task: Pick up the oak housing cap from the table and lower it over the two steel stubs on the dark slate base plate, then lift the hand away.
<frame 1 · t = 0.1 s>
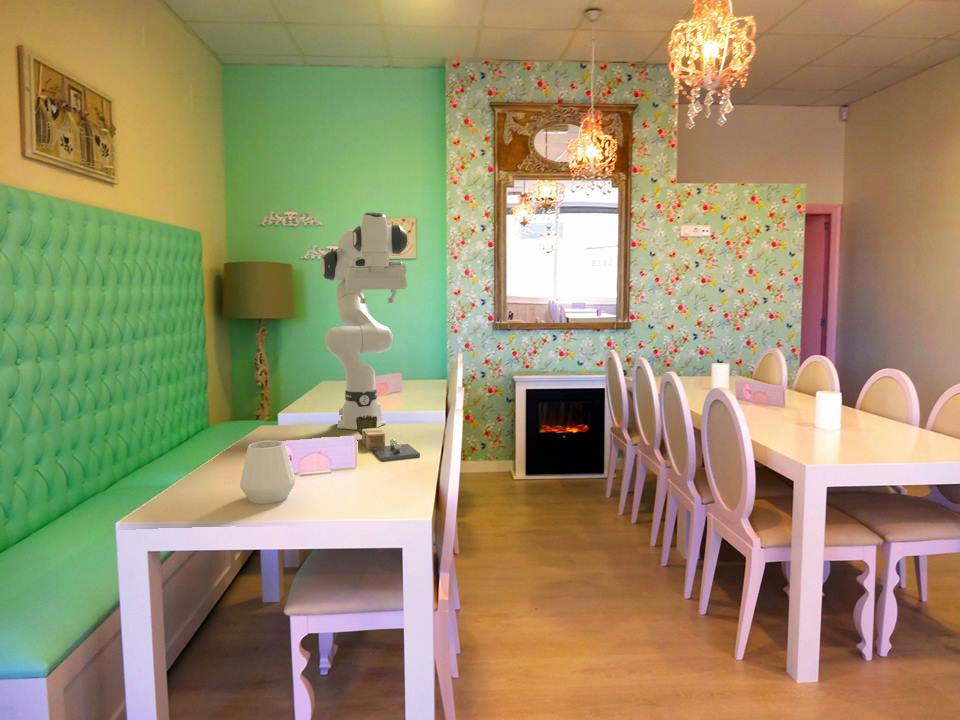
hand: (376, 303, 218), 48 cm above the table, tool pointing down, fingers open, 8 cm apart
cup 2: (367, 440, 229), on the table
slate base plate: (395, 453, 208), on the table
oak housing cap: (373, 445, 220), on the table
cream vase: (268, 498, 166), on the table
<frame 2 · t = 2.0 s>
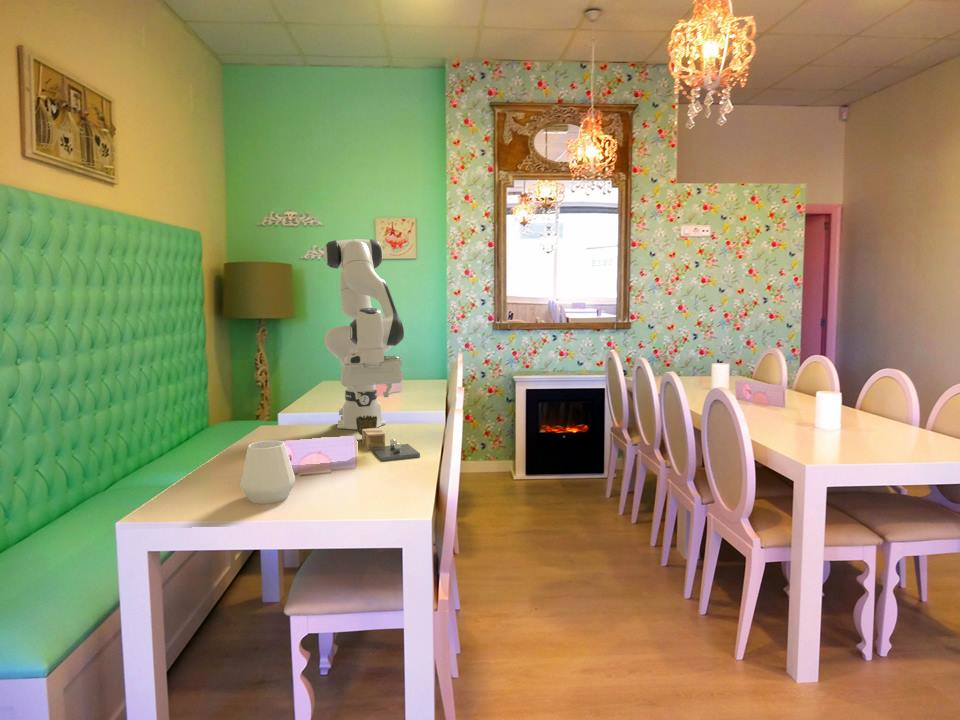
hand: (372, 398, 218), 16 cm above the table, tool pointing down, fingers open, 8 cm apart
nothing on the table moved.
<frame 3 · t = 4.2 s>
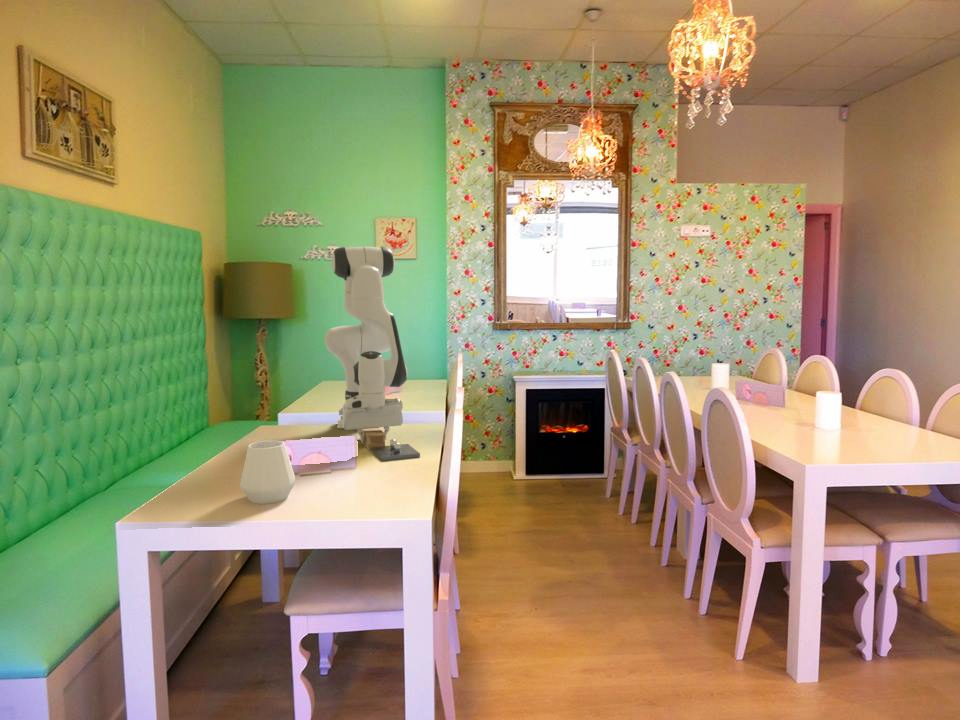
hand: (373, 440, 220), 2 cm above the table, tool pointing down, fingers closed on oak housing cap, 5 cm apart
oak housing cap: (373, 445, 220), on the table, touching gripper
everything else where it was.
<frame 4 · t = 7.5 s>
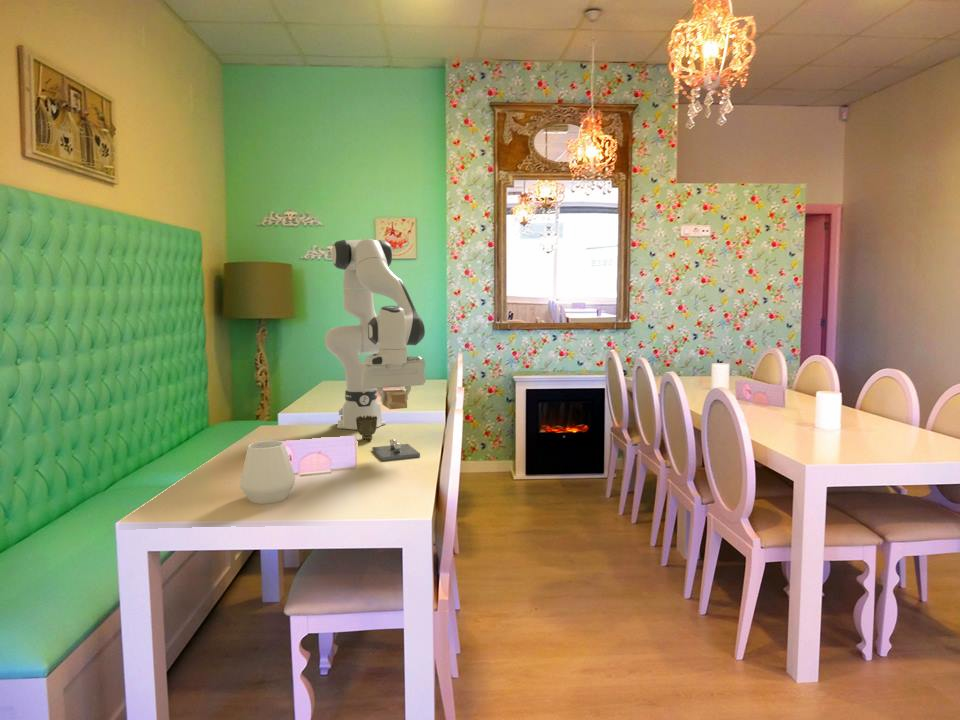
hand: (394, 400, 207), 17 cm above the table, tool pointing down, fingers closed on oak housing cap, 5 cm apart
oak housing cap: (394, 406, 207), point 16 cm above the table, touching gripper
everything else where it was.
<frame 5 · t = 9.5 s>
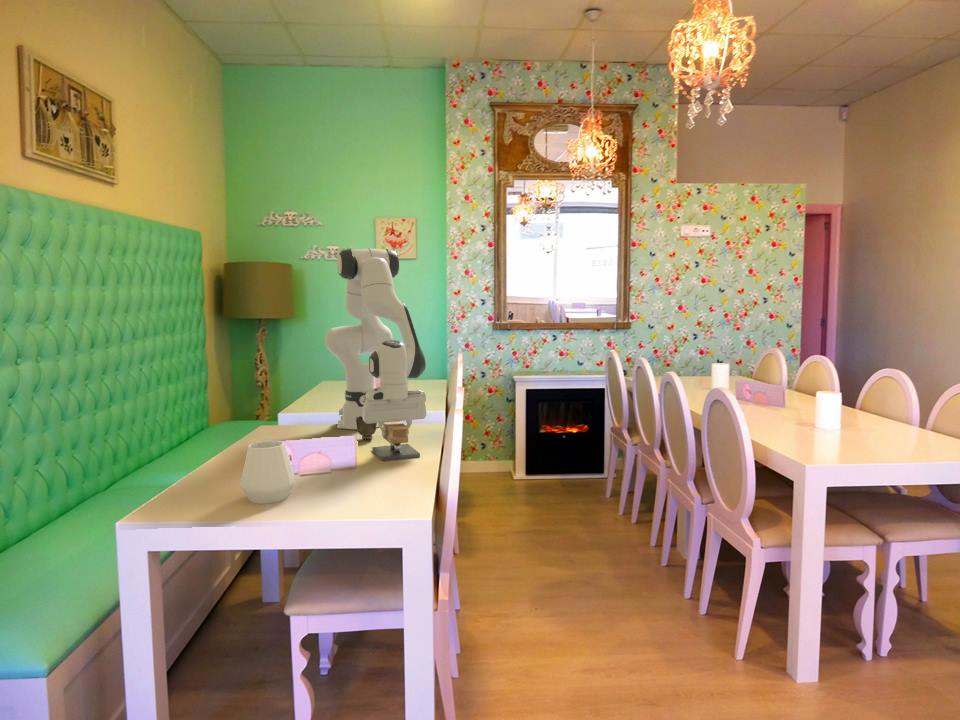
hand: (395, 434, 208), 6 cm above the table, tool pointing down, fingers closed on oak housing cap, 5 cm apart
oak housing cap: (395, 440, 208), point 5 cm above the table, touching gripper
everything else where it was.
when the fingers open (3 cm above the table, at t = 11.2 s): oak housing cap stays where it is, resting on slate base plate.
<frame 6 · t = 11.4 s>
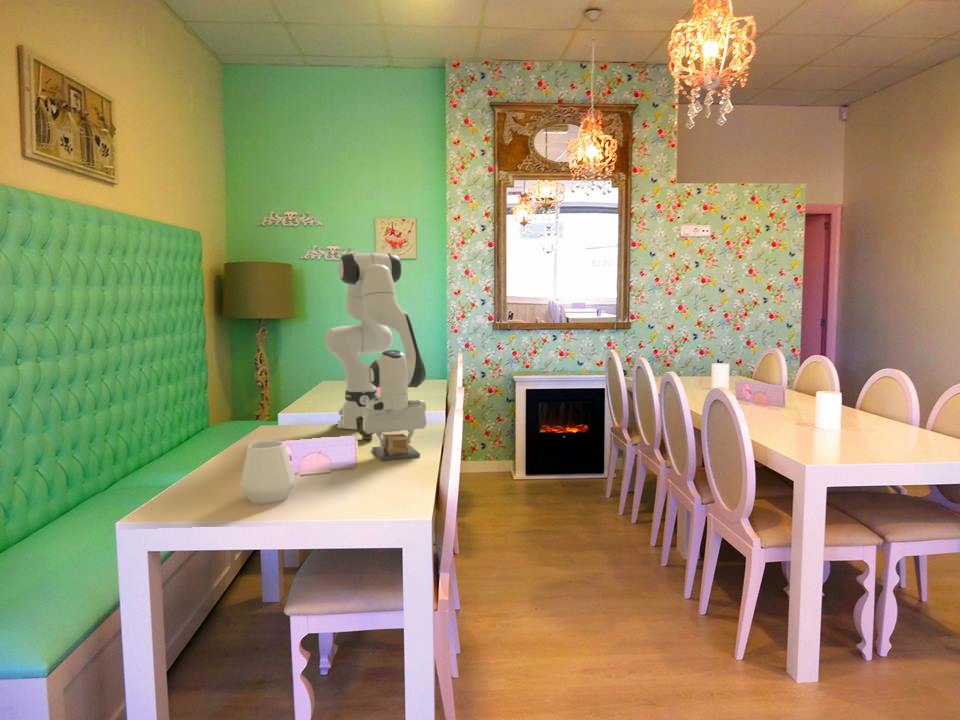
hand: (395, 444, 208), 3 cm above the table, tool pointing down, fingers open, 7 cm apart
oak housing cap: (395, 450, 208), point 1 cm above the table, touching slate base plate
everything else where it was.
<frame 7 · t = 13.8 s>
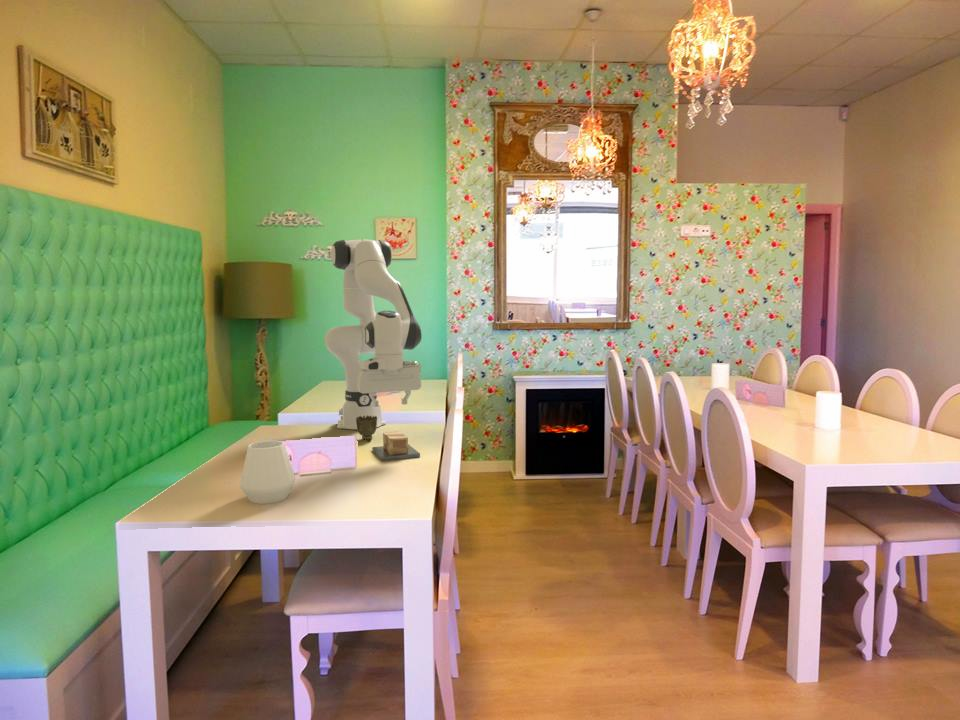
hand: (390, 405, 208), 16 cm above the table, tool pointing down, fingers open, 8 cm apart
nothing on the table moved.
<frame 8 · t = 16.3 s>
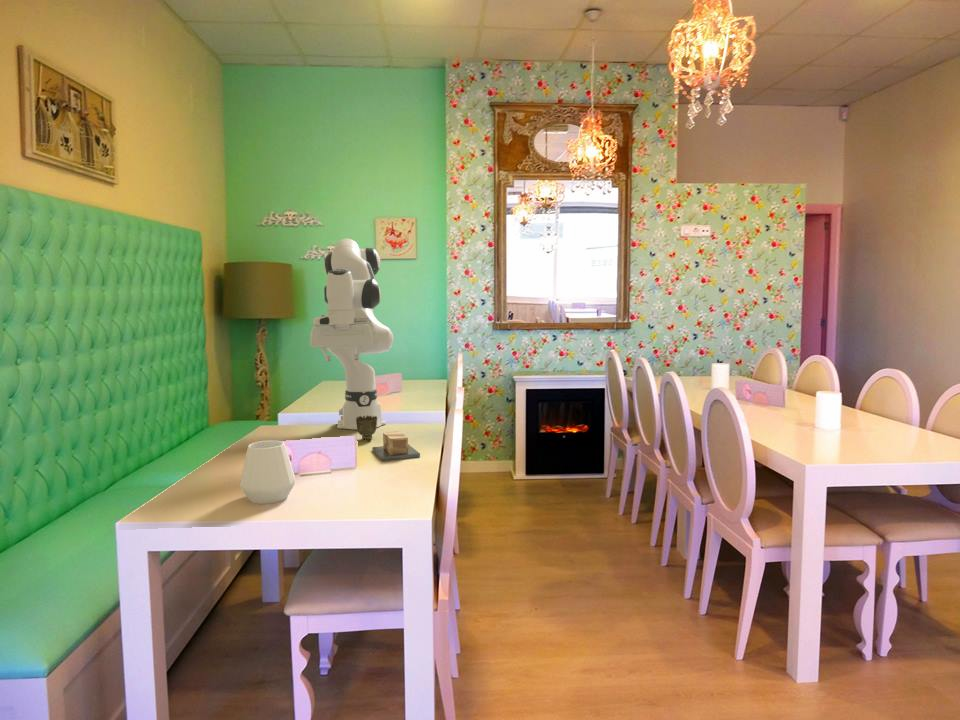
hand: (342, 360, 216), 29 cm above the table, tool pointing down, fingers open, 8 cm apart
nothing on the table moved.
at the end: oak housing cap 0.0 cm off-centre on the slate base plate, point 1.2 cm above the slate base plate's base; oak housing cap tilted 0°; the gripper is holding nothing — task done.
